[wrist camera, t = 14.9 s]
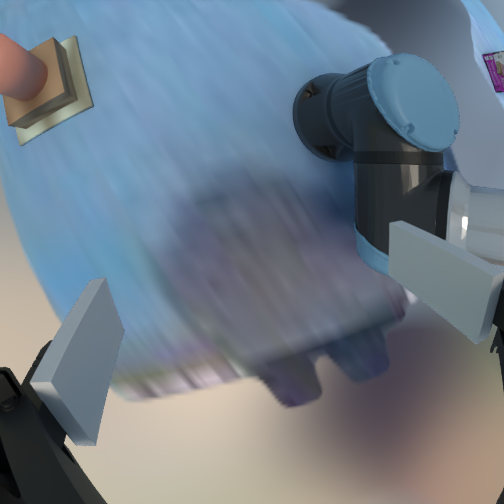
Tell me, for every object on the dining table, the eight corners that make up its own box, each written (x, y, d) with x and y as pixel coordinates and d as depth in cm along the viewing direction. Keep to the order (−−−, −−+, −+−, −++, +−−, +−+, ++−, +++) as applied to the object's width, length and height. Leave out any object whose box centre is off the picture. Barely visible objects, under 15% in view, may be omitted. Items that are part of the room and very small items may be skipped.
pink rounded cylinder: (44, 52, 28) (7, 23, 17) (51, 87, 30) (11, 64, 19) (9, 74, 28) (-34, 54, 16) (15, 109, 30) (-31, 96, 18)
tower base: (76, 36, 34) (63, 21, 27) (93, 106, 38) (80, 97, 32) (8, 76, 32) (-12, 68, 26) (22, 145, 37) (1, 144, 30)
